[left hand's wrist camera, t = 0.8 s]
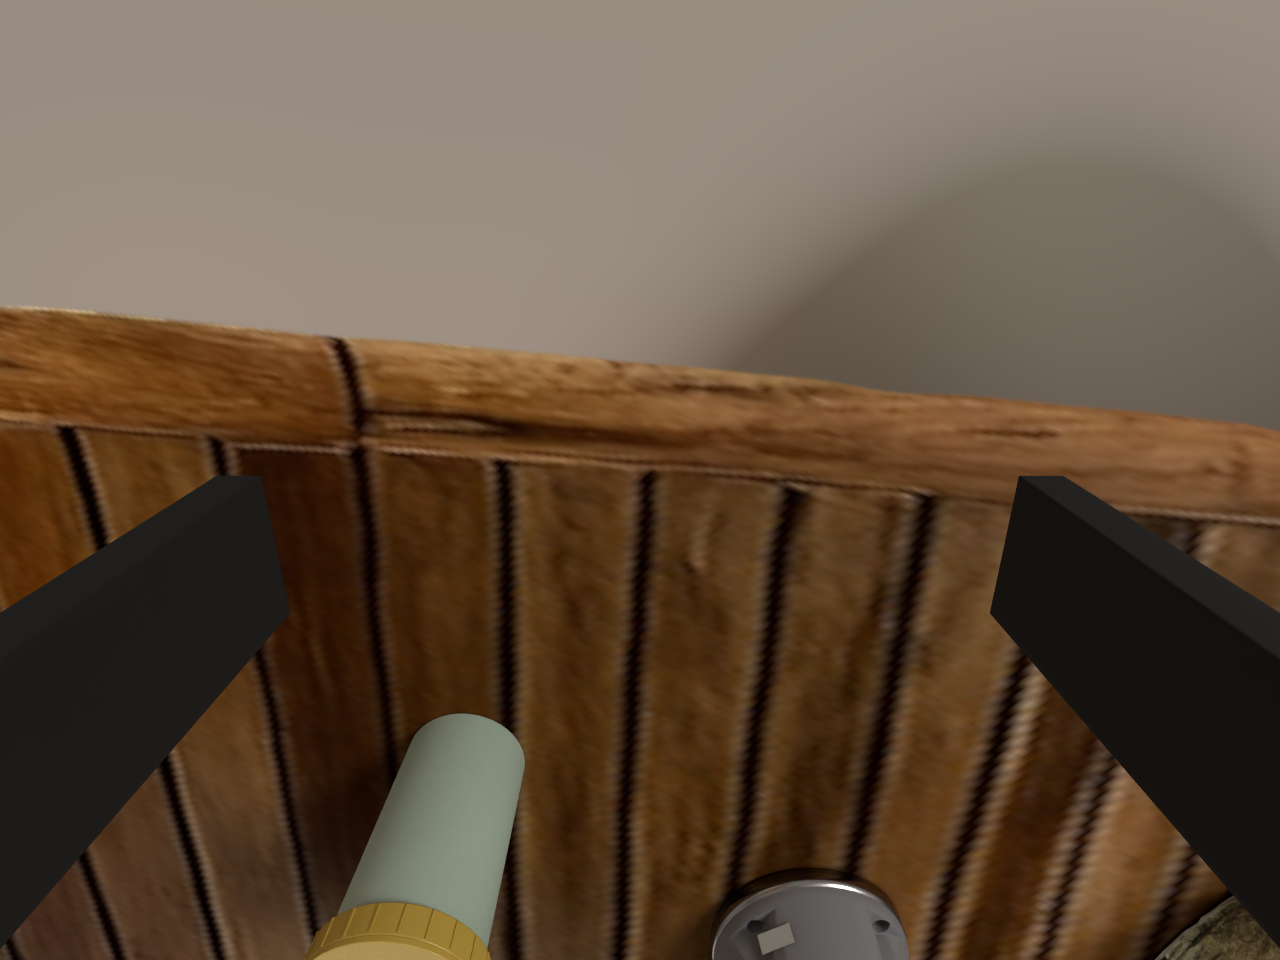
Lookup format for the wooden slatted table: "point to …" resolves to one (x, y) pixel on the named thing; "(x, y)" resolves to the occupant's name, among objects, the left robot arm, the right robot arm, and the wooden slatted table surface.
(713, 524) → the wooden slatted table surface
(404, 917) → the lid
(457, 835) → the jar
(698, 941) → the wooden slatted table surface
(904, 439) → the wooden slatted table surface
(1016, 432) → the wooden slatted table surface
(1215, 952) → the fossil
